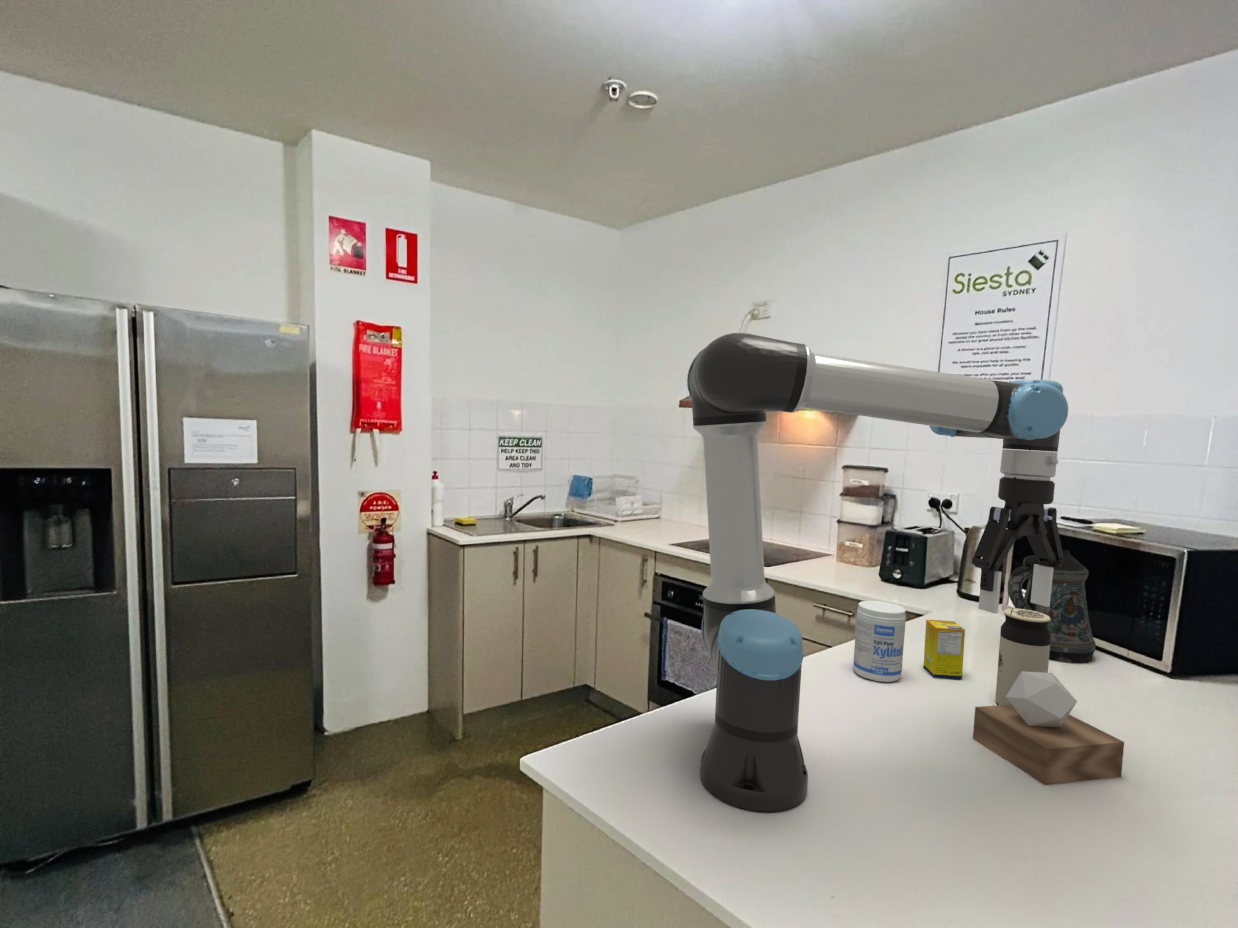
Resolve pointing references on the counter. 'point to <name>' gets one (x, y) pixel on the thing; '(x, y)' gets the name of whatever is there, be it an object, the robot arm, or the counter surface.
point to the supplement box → (944, 649)
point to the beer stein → (1059, 608)
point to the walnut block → (1049, 746)
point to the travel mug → (1021, 648)
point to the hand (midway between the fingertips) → (1014, 607)
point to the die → (1041, 699)
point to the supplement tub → (879, 641)
